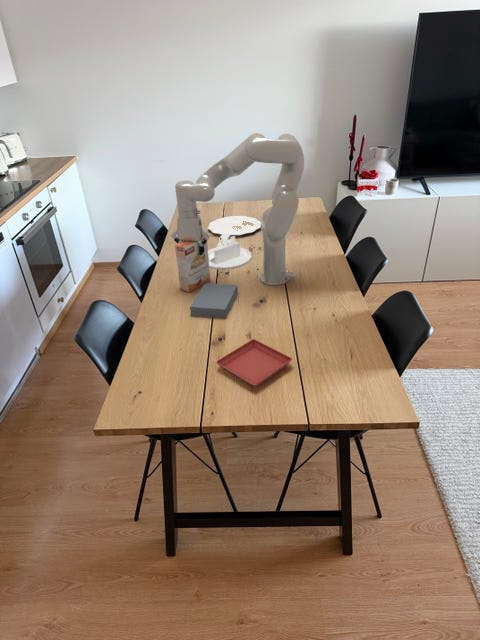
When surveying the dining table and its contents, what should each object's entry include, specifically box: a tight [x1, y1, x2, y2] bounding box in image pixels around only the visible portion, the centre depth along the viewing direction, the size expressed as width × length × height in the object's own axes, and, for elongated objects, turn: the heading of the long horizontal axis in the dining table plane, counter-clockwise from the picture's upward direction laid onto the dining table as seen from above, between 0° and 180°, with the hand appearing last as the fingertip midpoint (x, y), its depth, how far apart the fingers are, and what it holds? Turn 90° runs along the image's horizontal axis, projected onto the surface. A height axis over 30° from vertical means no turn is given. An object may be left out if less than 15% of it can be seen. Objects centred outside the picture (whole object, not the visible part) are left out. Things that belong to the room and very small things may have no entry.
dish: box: [208, 234, 252, 270], centre depth 225 cm, size 25×25×11 cm
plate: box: [207, 215, 262, 238], centre depth 261 cm, size 29×29×2 cm
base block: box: [189, 282, 239, 319], centre depth 189 cm, size 14×20×4 cm
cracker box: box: [174, 236, 211, 293], centre depth 200 cm, size 14×6×21 cm, turn 143°
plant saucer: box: [215, 338, 293, 388], centre depth 153 cm, size 18×18×3 cm
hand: (192, 253), depth 198 cm, fingers closed on cracker box, 7 cm apart
